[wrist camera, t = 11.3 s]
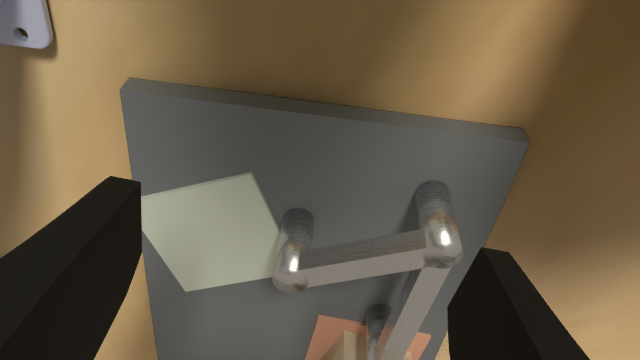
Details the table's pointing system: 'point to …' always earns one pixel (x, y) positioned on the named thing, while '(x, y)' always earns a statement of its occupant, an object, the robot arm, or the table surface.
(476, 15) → the table surface
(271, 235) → the board
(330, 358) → the birch block
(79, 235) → the robot arm
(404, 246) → the bent wire
